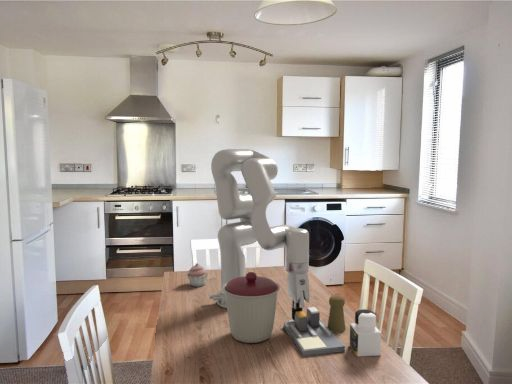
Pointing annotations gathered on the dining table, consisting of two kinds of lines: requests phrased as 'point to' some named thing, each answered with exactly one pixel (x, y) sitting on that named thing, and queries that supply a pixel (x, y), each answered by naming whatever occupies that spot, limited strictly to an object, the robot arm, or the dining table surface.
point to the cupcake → (197, 275)
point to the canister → (251, 307)
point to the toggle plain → (313, 317)
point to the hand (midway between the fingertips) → (297, 319)
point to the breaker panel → (314, 339)
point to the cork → (336, 314)
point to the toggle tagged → (301, 321)
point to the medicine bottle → (365, 334)
